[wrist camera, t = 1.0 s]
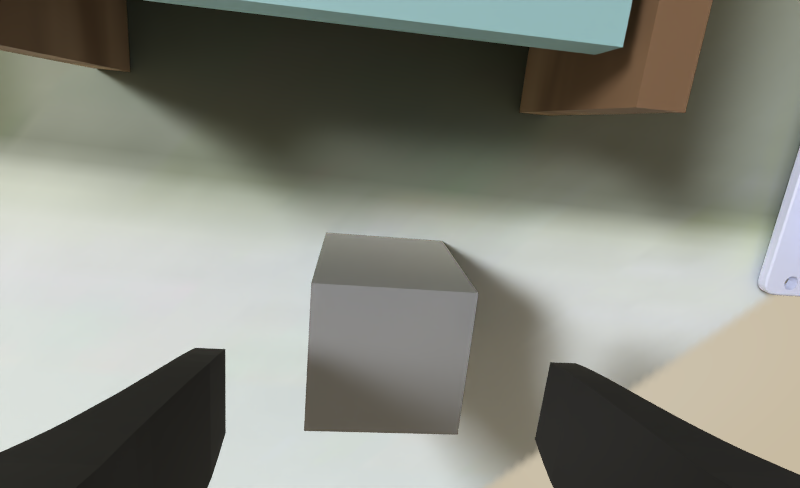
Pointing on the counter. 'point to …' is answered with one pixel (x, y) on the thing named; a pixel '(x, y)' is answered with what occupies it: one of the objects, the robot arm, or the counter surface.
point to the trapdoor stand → (544, 78)
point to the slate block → (387, 336)
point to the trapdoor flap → (463, 18)
